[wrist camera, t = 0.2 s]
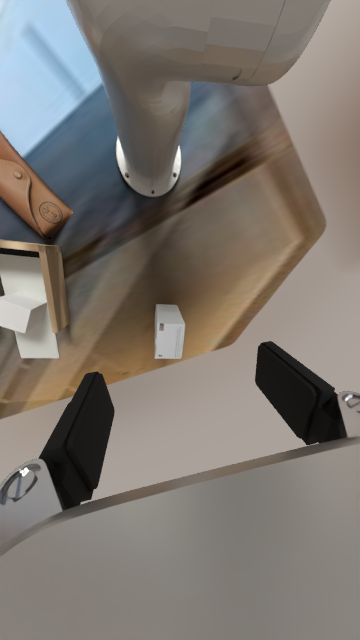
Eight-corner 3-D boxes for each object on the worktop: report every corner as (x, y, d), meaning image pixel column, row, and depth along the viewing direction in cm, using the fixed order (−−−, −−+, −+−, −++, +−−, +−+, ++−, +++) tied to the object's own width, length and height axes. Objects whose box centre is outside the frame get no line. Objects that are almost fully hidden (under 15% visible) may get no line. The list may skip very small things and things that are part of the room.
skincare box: (174, 330, 50) (183, 361, 36) (153, 330, 49) (154, 361, 35) (177, 303, 47) (187, 324, 33) (154, 301, 46) (156, 323, 32)
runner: (-5, 253, 36) (-6, 253, 36) (43, 258, 38) (42, 258, 38) (21, 357, 46) (21, 357, 45) (59, 357, 47) (59, 358, 47)
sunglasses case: (77, 213, 36) (51, 219, 31) (65, 234, 40) (40, 243, 35) (-12, 114, 29) (-63, 103, 24) (-16, 152, 33) (-60, 148, 28)
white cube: (41, 323, 43) (24, 333, 37) (13, 313, 41) (-9, 323, 36) (47, 301, 41) (30, 309, 36) (18, 291, 39) (-4, 298, 34)
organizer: (-6, 319, 41) (-30, 330, 36) (-30, 235, 35) (-64, 233, 29) (69, 322, 44) (58, 332, 39) (60, 246, 38) (44, 245, 32)
